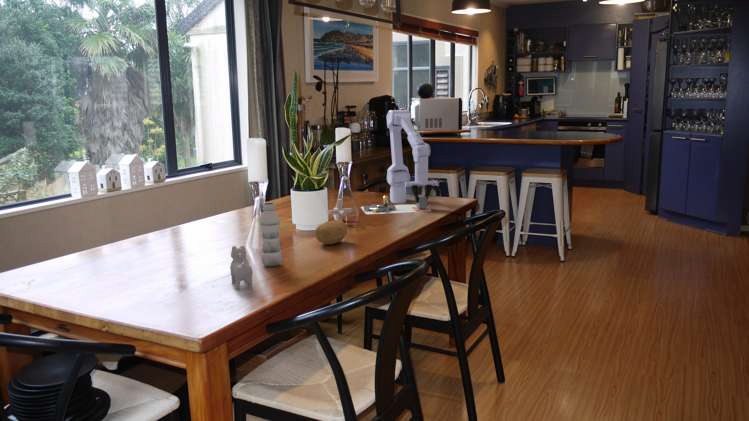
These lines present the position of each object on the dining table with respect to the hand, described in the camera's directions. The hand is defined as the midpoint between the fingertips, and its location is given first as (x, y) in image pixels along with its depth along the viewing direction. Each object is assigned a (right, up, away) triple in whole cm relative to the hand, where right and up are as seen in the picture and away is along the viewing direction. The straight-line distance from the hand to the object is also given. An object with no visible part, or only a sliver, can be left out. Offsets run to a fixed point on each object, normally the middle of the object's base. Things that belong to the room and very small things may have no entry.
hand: (421, 202), depth 273 cm
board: (-11, -4, +3) cm, 12 cm away
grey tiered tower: (-53, -21, -77) cm, 96 cm away
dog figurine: (-59, -25, -95) cm, 115 cm away
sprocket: (-18, -3, +2) cm, 19 cm away
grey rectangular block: (0, -2, 0) cm, 2 cm away
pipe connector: (-35, -9, -20) cm, 41 cm away
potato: (-36, -16, -52) cm, 65 cm away
